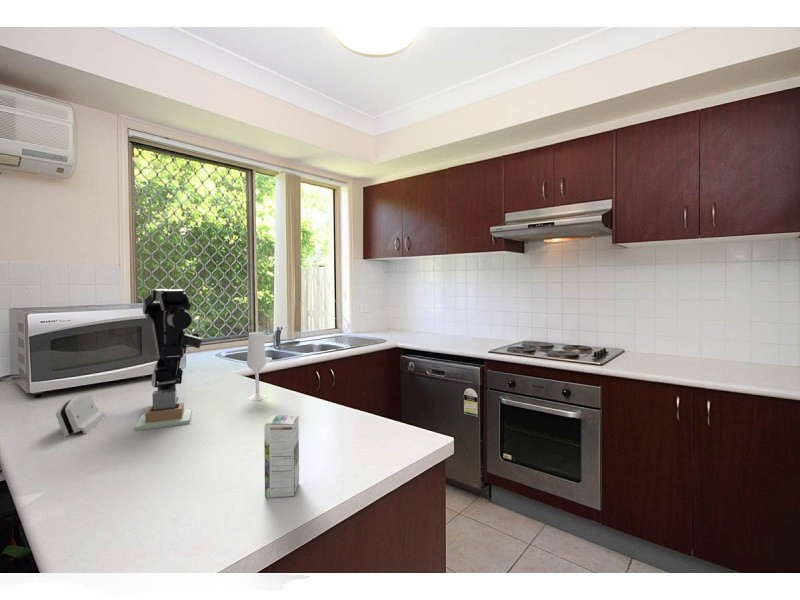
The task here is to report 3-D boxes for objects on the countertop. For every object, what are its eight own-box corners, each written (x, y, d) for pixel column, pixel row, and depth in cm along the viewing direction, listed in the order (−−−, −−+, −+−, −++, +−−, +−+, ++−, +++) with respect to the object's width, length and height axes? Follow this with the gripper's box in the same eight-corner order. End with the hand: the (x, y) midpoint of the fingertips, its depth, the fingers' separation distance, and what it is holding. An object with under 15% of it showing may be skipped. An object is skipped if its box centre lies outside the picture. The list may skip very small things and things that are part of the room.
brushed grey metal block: (155, 416, 128) (154, 390, 128) (177, 413, 131) (176, 388, 130) (153, 420, 125) (152, 394, 124) (175, 417, 127) (175, 391, 127)
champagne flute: (247, 396, 154) (245, 332, 153) (265, 394, 156) (264, 331, 156) (248, 401, 148) (246, 334, 147) (268, 399, 150) (266, 333, 149)
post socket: (142, 417, 131) (142, 404, 131) (192, 411, 136) (191, 399, 136) (135, 430, 119) (134, 416, 119) (189, 423, 124) (189, 410, 124)
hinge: (85, 434, 116) (69, 402, 115) (66, 442, 115) (50, 409, 113) (106, 416, 132) (92, 388, 131) (90, 423, 131) (76, 394, 129)
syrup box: (271, 484, 85) (269, 414, 85) (300, 483, 86) (298, 413, 85) (264, 498, 80) (262, 424, 79) (295, 497, 80) (294, 423, 80)
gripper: (199, 328, 133) (200, 377, 133) (201, 323, 150) (203, 366, 150) (159, 330, 128) (161, 380, 129) (166, 325, 145) (168, 369, 146)
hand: (175, 373), depth 138 cm, fingers open, 9 cm apart
